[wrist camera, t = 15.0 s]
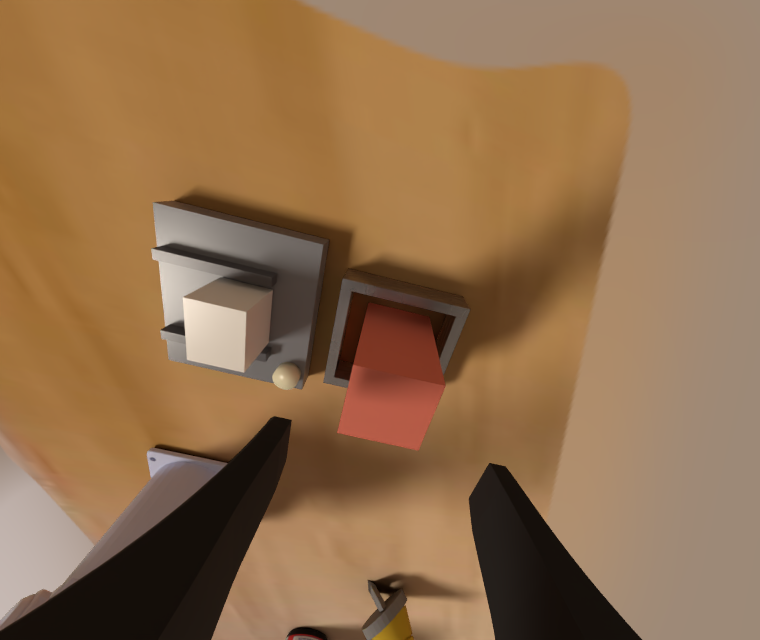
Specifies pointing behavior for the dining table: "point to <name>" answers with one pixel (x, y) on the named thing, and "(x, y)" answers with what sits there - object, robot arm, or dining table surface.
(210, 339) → the switch
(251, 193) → the dining table surface
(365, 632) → the yellow flanged cylinder
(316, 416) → the dining table surface
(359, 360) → the peg
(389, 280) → the frame
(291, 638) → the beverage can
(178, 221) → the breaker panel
